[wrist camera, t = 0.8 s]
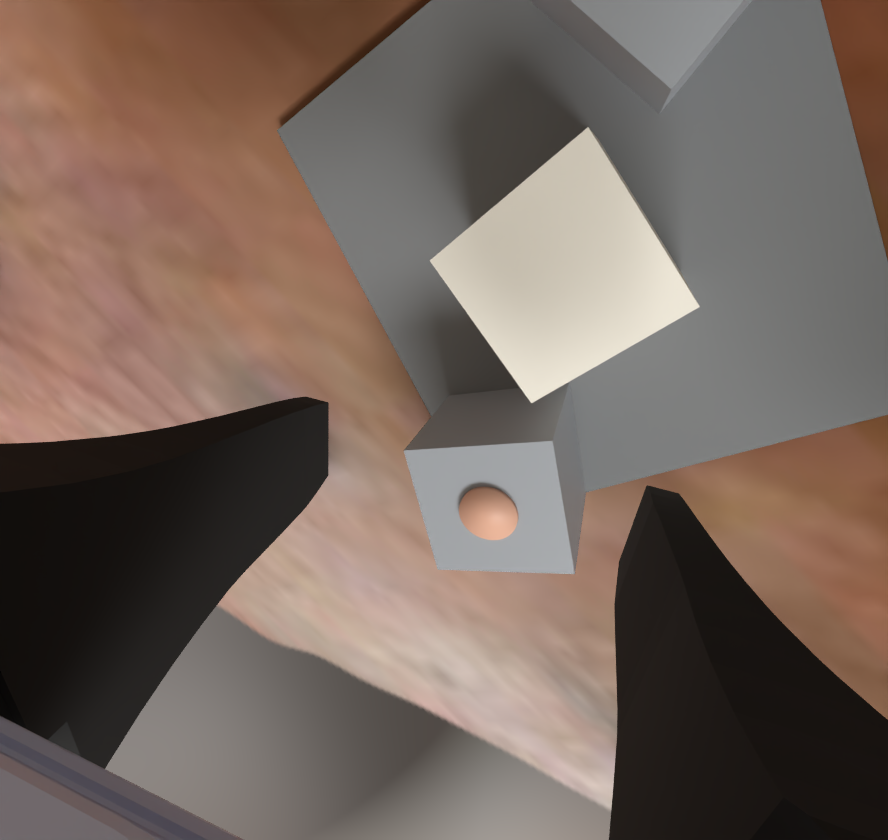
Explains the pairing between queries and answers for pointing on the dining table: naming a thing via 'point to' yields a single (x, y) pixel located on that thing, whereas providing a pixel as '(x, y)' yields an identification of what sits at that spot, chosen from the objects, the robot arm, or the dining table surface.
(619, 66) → the dot block
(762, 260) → the felt mat
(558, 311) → the plain block
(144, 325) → the dining table surface
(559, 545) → the dot block
